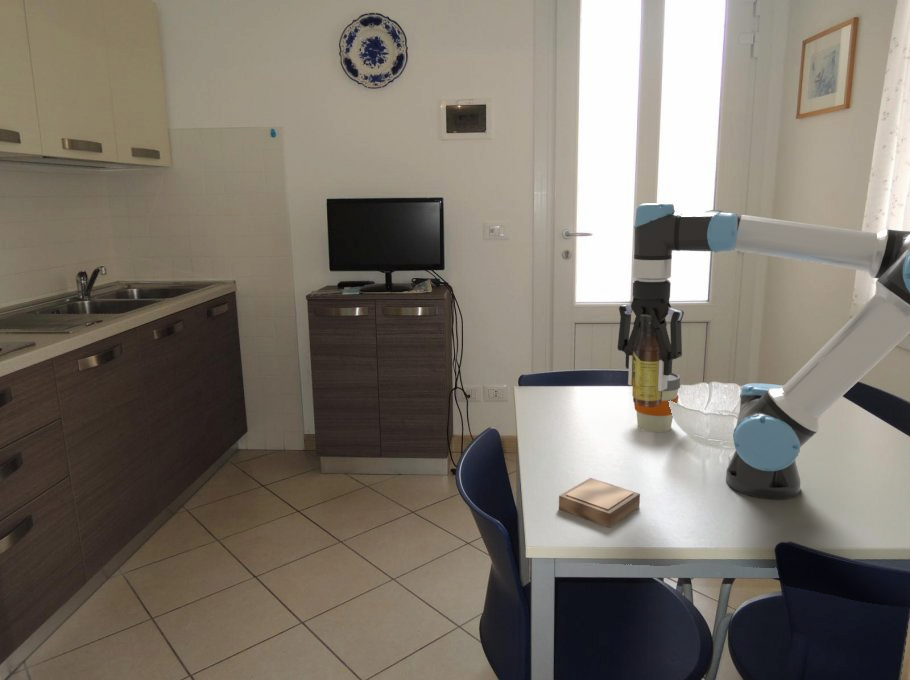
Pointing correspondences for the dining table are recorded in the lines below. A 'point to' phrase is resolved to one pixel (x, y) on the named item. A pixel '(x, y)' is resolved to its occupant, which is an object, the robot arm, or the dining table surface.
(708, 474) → the dining table surface
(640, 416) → the reusable coffee cup
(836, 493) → the dining table surface
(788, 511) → the dining table surface
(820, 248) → the robot arm
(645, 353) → the sauce bottle
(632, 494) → the pedestal
